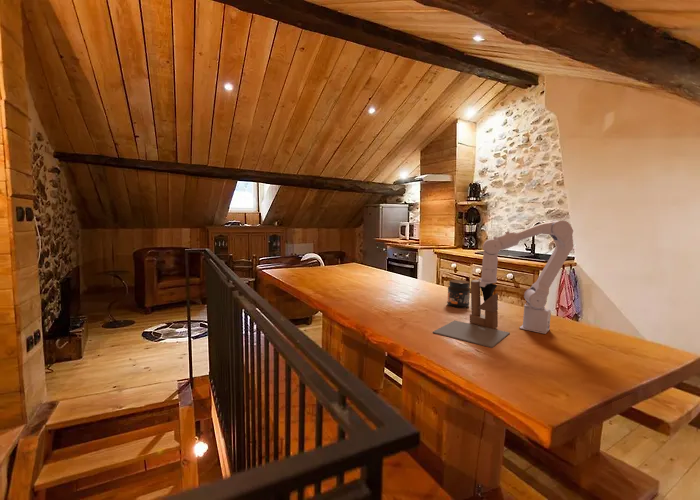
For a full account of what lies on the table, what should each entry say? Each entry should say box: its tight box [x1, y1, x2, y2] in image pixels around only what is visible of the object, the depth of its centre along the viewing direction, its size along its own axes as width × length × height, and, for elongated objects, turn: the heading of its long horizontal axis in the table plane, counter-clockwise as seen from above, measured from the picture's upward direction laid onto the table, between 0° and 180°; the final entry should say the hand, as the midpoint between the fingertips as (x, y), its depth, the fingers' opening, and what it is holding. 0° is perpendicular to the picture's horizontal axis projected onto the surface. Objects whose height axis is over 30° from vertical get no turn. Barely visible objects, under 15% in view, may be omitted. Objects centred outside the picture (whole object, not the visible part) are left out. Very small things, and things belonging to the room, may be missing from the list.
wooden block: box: [469, 279, 499, 329], centre depth 148 cm, size 4×11×18 cm, turn 37°
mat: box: [432, 320, 511, 349], centre depth 139 cm, size 22×20×1 cm
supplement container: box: [446, 279, 471, 309], centre depth 181 cm, size 10×10×12 cm
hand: (487, 301), depth 150 cm, fingers closed
